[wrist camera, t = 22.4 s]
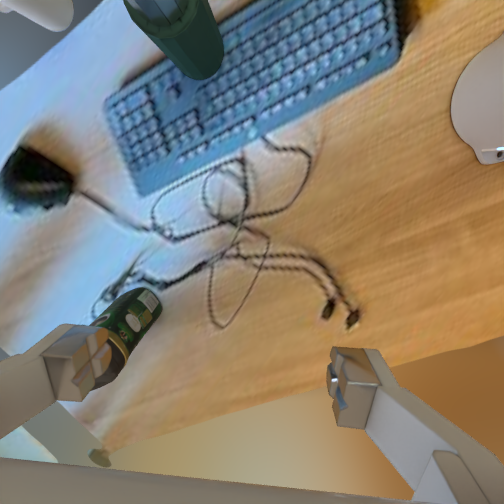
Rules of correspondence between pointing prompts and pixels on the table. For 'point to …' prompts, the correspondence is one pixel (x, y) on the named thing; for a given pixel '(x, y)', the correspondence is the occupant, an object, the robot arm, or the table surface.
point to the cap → (160, 10)
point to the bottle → (188, 39)
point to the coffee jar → (126, 328)
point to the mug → (43, 12)
